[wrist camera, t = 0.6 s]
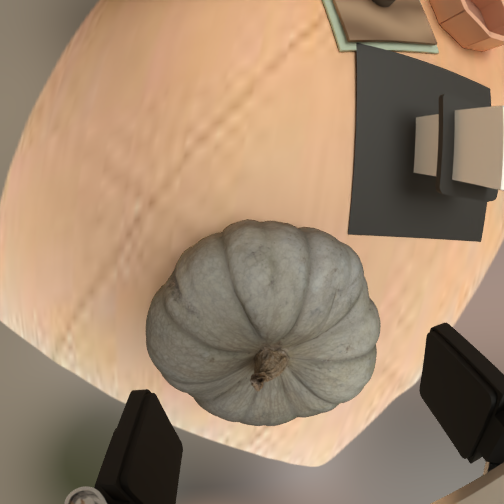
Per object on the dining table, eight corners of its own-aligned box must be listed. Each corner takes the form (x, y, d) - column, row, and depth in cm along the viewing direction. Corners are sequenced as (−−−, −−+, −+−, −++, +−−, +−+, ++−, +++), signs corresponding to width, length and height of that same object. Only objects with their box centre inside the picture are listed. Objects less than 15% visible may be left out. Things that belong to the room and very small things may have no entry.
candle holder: (480, 241, 39) (553, 277, 24) (348, 234, 38) (414, 284, 22) (490, 88, 32) (565, 80, 16) (356, 42, 30) (422, -11, 15)
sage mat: (305, -40, 27) (306, -42, 26) (402, -31, 27) (403, -33, 26) (339, 51, 31) (340, 50, 31) (437, 54, 31) (439, 53, 31)
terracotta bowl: (419, -21, 27) (441, -39, 20) (471, -7, 27) (494, -19, 20) (446, 45, 31) (474, 33, 24) (495, 54, 30) (522, 47, 24)
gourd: (244, 153, 32) (274, 200, 17) (383, 270, 41) (451, 353, 26) (129, 308, 39) (98, 414, 24) (268, 378, 48) (287, 470, 33)
